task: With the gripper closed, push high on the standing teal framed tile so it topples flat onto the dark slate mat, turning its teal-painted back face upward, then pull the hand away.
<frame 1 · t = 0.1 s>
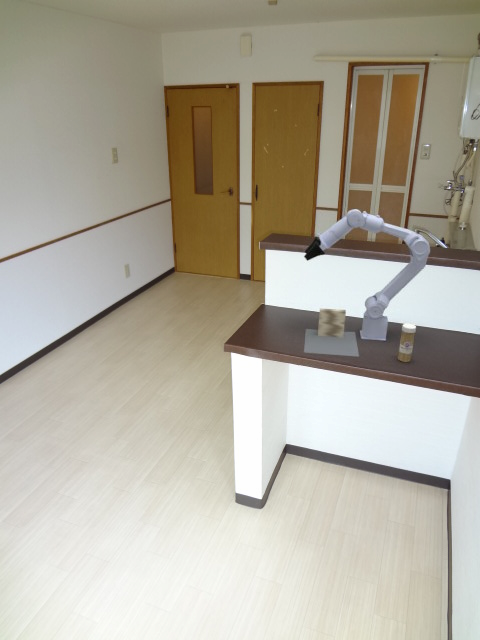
hand: (306, 256, 176), 32 cm above the table, tool tilted 50°, fingers open, 7 cm apart
sprinkles bottle: (404, 360, 165), on the table
slate mat: (330, 342, 178), on the table
teal framed tile: (330, 335, 184), resting on slate mat
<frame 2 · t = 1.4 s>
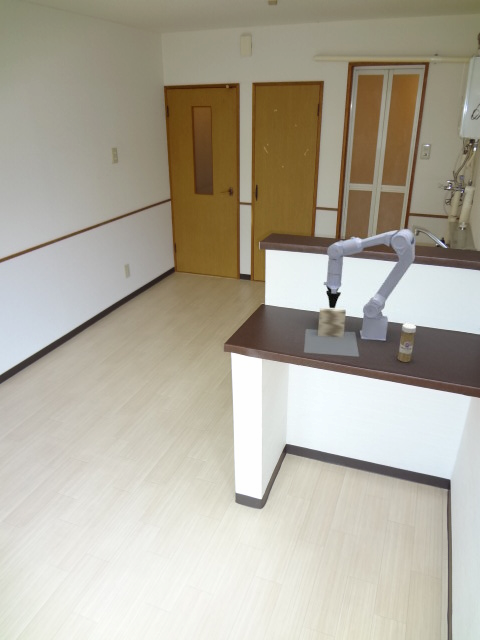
hand: (331, 304, 188), 10 cm above the table, tool pointing down, fingers open, 7 cm apart
nothing on the table moved.
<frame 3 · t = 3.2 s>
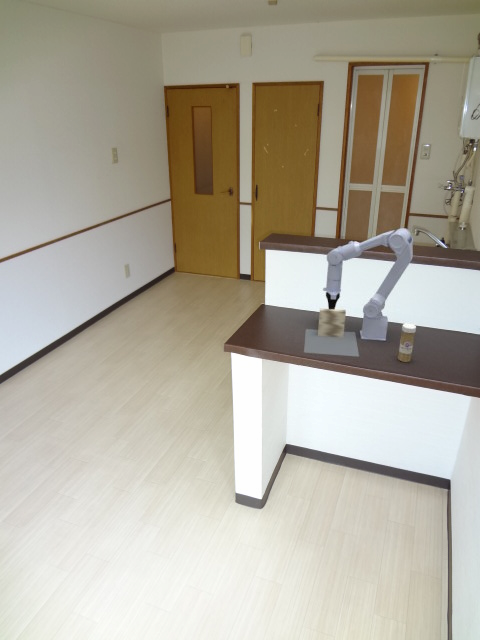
hand: (331, 310, 189), 8 cm above the table, tool pointing down, fingers closed
nothing on the table moved.
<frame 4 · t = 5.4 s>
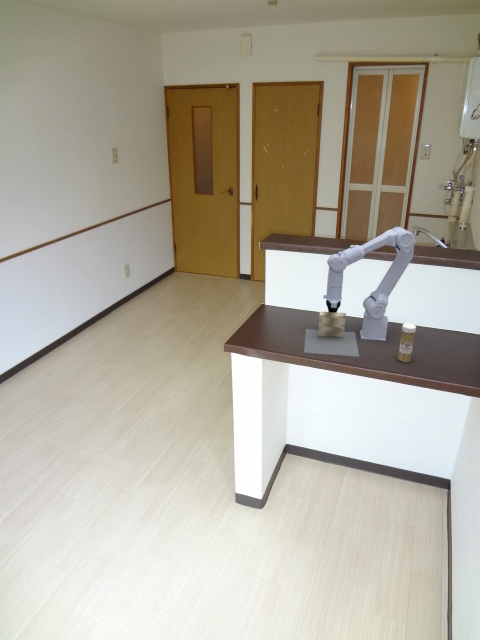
hand: (331, 318, 181), 8 cm above the table, tool pointing down, fingers closed
teal framed tile: (330, 334, 183), point 1 cm above the table, tilted 19°, touching slate mat
everything else where it was.
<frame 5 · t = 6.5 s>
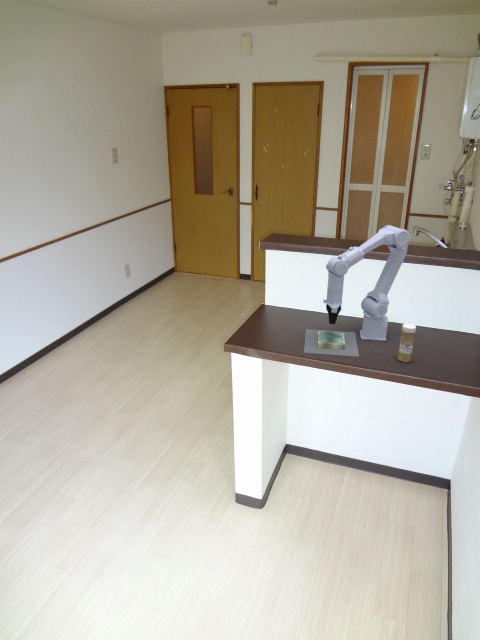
hand: (332, 323, 176), 8 cm above the table, tool pointing down, fingers closed
teal framed tile: (330, 334, 182), point 1 cm above the table, tilted 90°, touching slate mat
everything else where it was.
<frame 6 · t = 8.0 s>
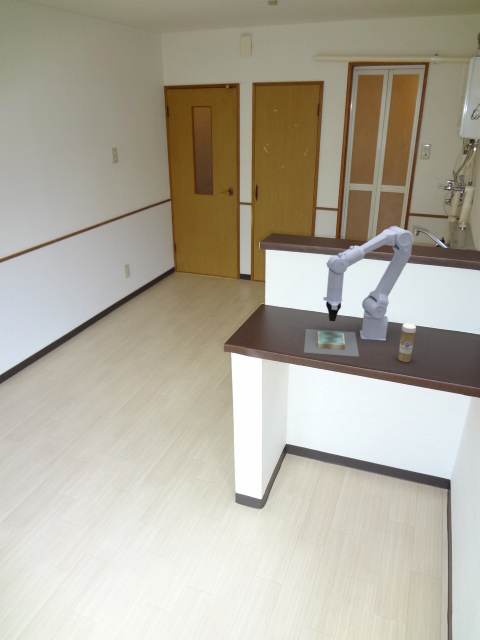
hand: (332, 320, 179), 8 cm above the table, tool pointing down, fingers closed
nothing on the table moved.
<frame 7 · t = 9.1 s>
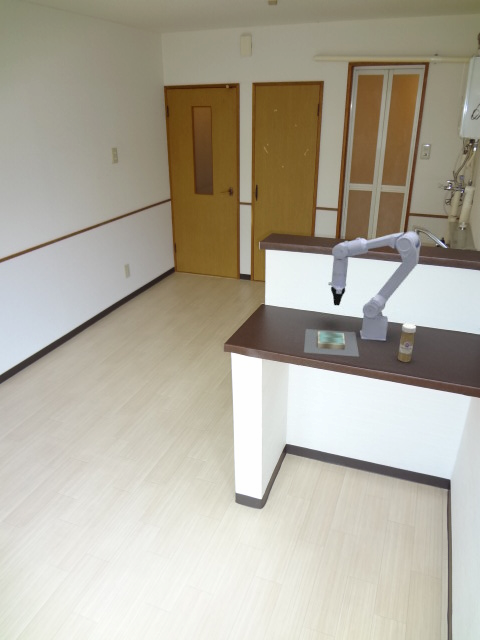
hand: (336, 304, 188), 10 cm above the table, tool pointing down, fingers closed
nothing on the table moved.
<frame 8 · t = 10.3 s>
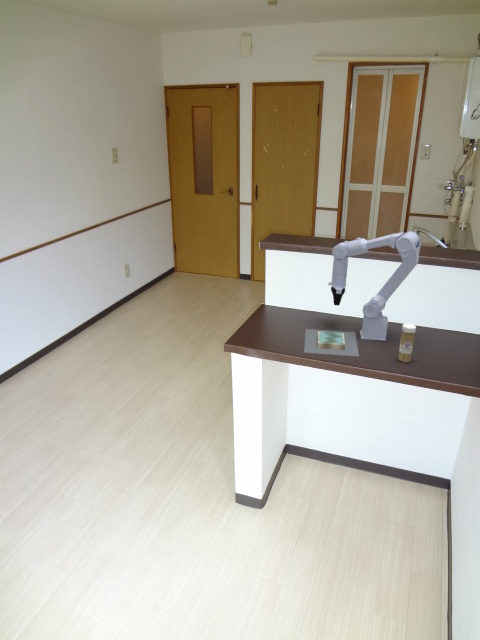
hand: (336, 304, 188), 10 cm above the table, tool pointing down, fingers closed
nothing on the table moved.
at the end: teal framed tile tilted 90°; teal framed tile inside the target area on the slate mat (4.3 cm from its centre), point 1.4 cm above the slate mat's base; the gripper is holding nothing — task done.
